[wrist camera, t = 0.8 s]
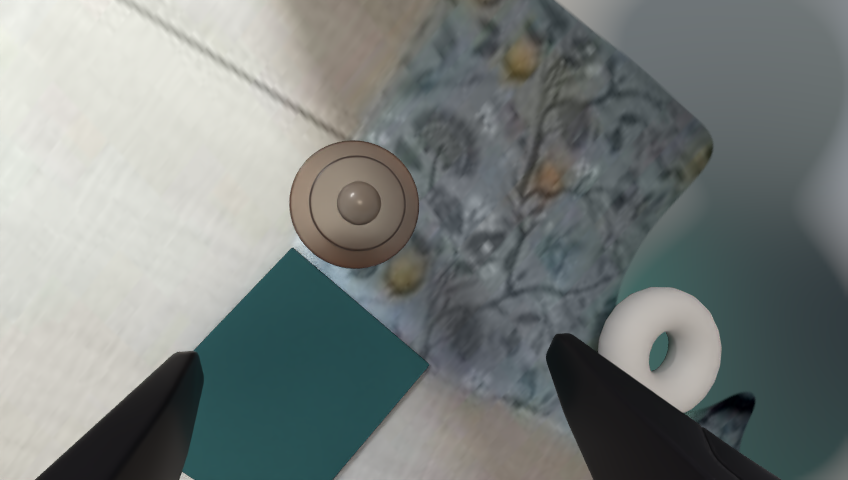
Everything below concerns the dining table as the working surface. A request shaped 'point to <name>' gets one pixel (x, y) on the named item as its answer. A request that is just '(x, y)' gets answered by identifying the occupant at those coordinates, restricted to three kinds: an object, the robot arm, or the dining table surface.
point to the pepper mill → (354, 204)
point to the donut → (687, 350)
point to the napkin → (294, 380)
